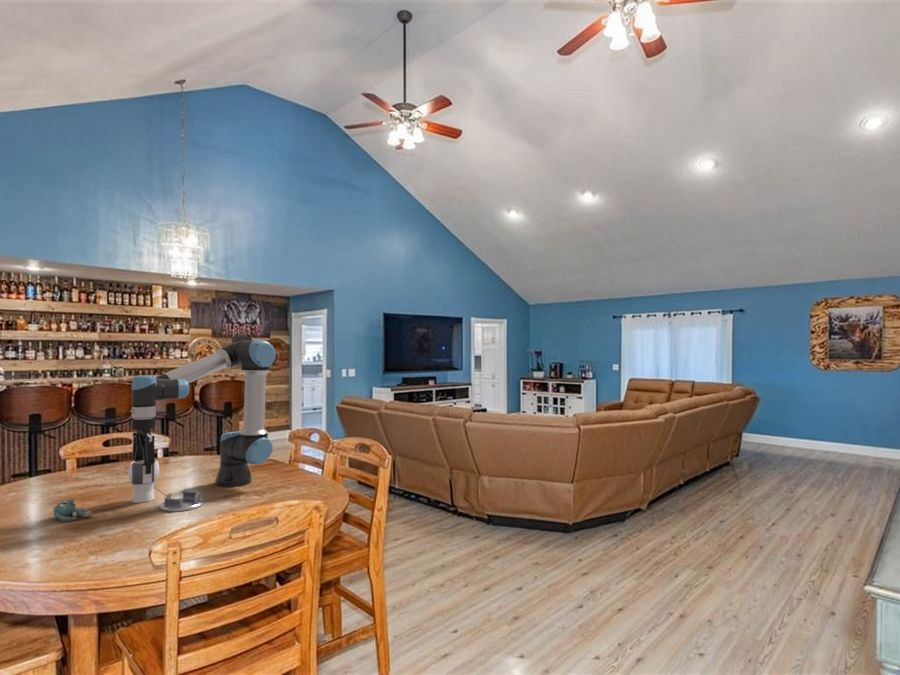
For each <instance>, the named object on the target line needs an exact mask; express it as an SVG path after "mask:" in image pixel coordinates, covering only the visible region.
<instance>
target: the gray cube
mask: <svg viewBox="0 0 900 675" xmlns="http://www.w3.org/2000/svg"><path fill="white" fill-rule="evenodd" d="M149 461H150V460H149ZM133 462H134V463H132V462H131V463H132V483H131V485H132V484H136V485H139V484H143V466H142V464H144V460H141V461H137V462H135V461H133ZM153 481H154V463H153V464H152V482H153ZM150 483H151V482H150ZM145 484H147V483H145Z"/></svg>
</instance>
